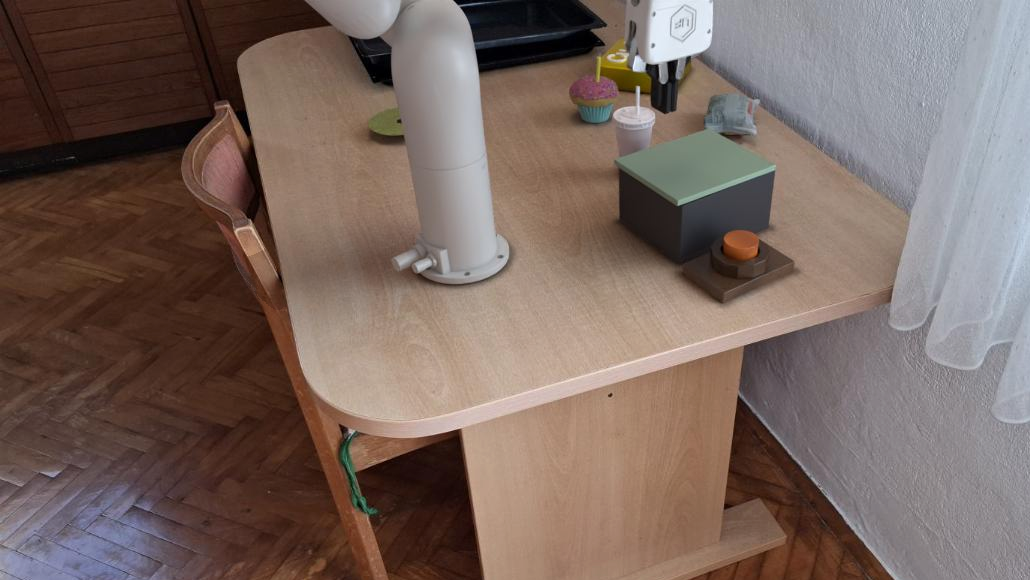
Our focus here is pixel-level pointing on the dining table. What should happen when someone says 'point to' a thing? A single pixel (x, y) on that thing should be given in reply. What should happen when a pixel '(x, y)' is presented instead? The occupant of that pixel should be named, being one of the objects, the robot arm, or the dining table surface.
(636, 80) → the element tile
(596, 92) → the cupcake
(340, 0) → the robot arm
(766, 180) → the dark grey hollow box
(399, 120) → the mat
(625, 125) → the smoothie
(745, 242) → the button
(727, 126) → the packaged food
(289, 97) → the dining table surface
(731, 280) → the switch block
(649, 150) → the lid
